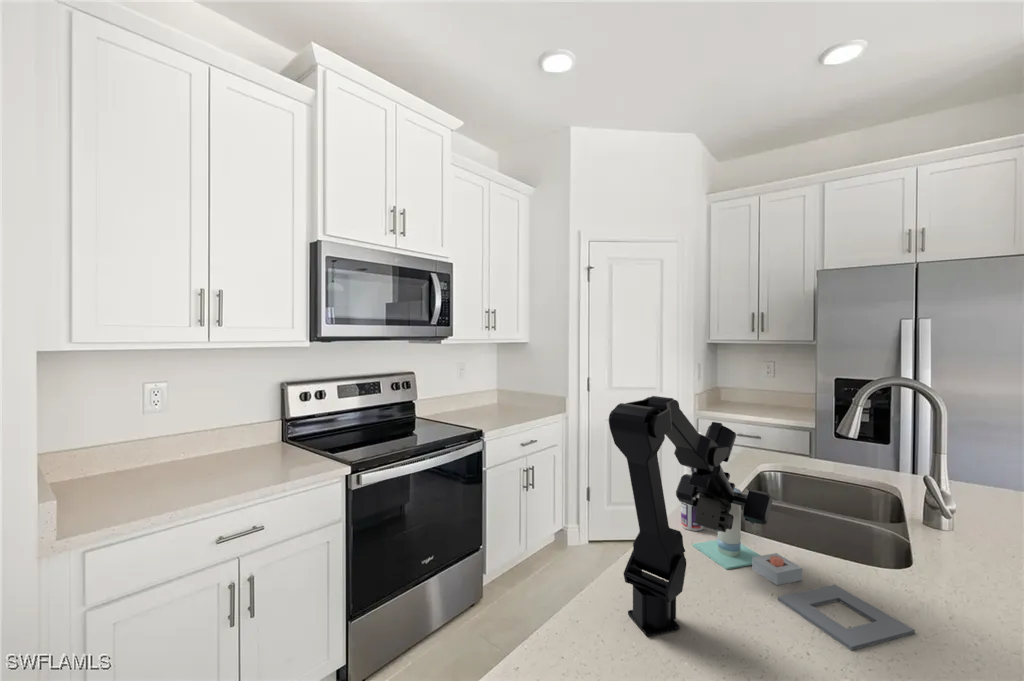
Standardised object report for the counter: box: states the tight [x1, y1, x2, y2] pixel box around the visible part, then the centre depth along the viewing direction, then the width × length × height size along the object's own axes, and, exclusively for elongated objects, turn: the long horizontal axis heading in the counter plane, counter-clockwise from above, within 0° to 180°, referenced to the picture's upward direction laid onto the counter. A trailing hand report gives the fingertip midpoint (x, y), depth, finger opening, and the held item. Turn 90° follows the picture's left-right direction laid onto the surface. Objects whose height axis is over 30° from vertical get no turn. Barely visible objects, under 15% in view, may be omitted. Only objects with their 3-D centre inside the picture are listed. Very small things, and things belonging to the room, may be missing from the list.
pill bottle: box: [680, 502, 705, 532], centre depth 117 cm, size 5×5×10 cm
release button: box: [770, 556, 784, 567], centre depth 95 cm, size 2×2×2 cm
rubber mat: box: [691, 539, 762, 571], centre depth 103 cm, size 11×11×1 cm
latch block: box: [751, 552, 803, 586], centre depth 95 cm, size 6×6×2 cm
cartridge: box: [717, 487, 742, 557], centre depth 103 cm, size 5×5×14 cm
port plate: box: [777, 584, 916, 651], centre depth 81 cm, size 14×14×1 cm
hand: (731, 516), depth 104 cm, fingers open, 9 cm apart
